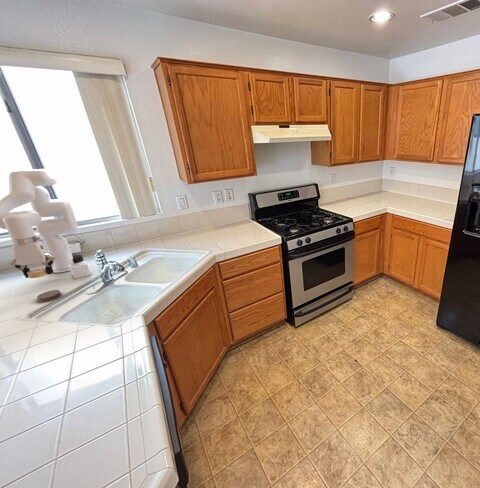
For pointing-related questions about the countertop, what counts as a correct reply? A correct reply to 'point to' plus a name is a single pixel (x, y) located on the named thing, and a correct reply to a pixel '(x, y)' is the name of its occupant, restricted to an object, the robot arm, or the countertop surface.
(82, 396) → the countertop surface
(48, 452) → the countertop surface
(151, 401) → the countertop surface
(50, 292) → the walnut chip
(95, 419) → the countertop surface
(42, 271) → the maple chip
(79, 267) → the medicine bottle
